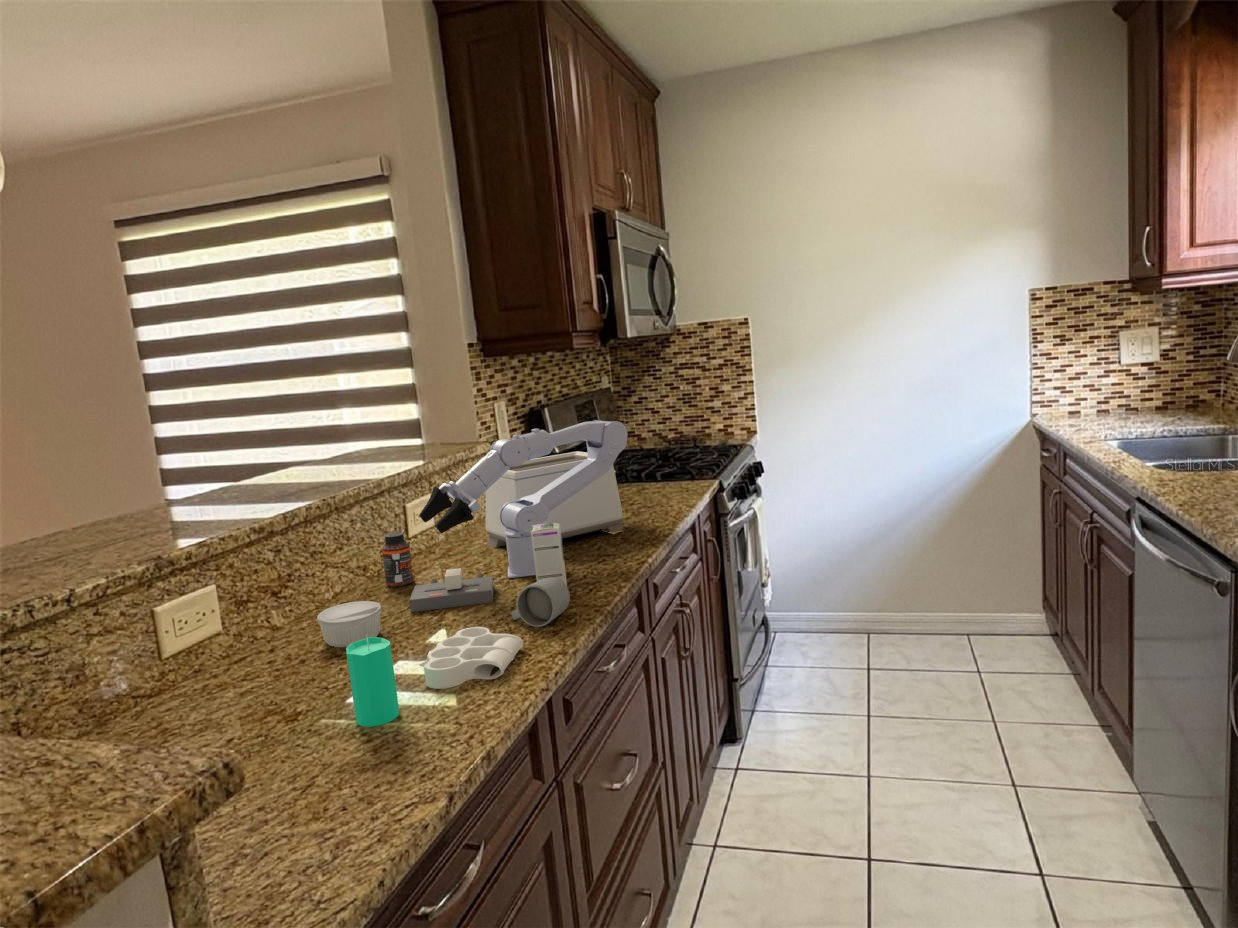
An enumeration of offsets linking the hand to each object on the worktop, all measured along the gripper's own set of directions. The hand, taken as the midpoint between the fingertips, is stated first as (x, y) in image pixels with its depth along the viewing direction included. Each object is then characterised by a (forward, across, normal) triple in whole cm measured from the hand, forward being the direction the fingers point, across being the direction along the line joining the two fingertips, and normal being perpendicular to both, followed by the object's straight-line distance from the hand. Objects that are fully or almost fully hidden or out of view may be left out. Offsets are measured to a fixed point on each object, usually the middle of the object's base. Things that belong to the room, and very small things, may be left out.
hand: (430, 524), depth 165 cm
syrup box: (-6, +24, +17) cm, 30 cm away
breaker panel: (+6, +6, +13) cm, 15 cm away
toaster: (-26, -16, +40) cm, 50 cm away
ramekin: (+26, +14, -2) cm, 30 cm away
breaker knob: (+5, +9, +9) cm, 14 cm away
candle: (+30, +49, -12) cm, 59 cm away
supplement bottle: (+12, -12, +13) cm, 21 cm away
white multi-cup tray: (+16, +42, -1) cm, 45 cm away
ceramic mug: (+1, +34, +11) cm, 35 cm away
